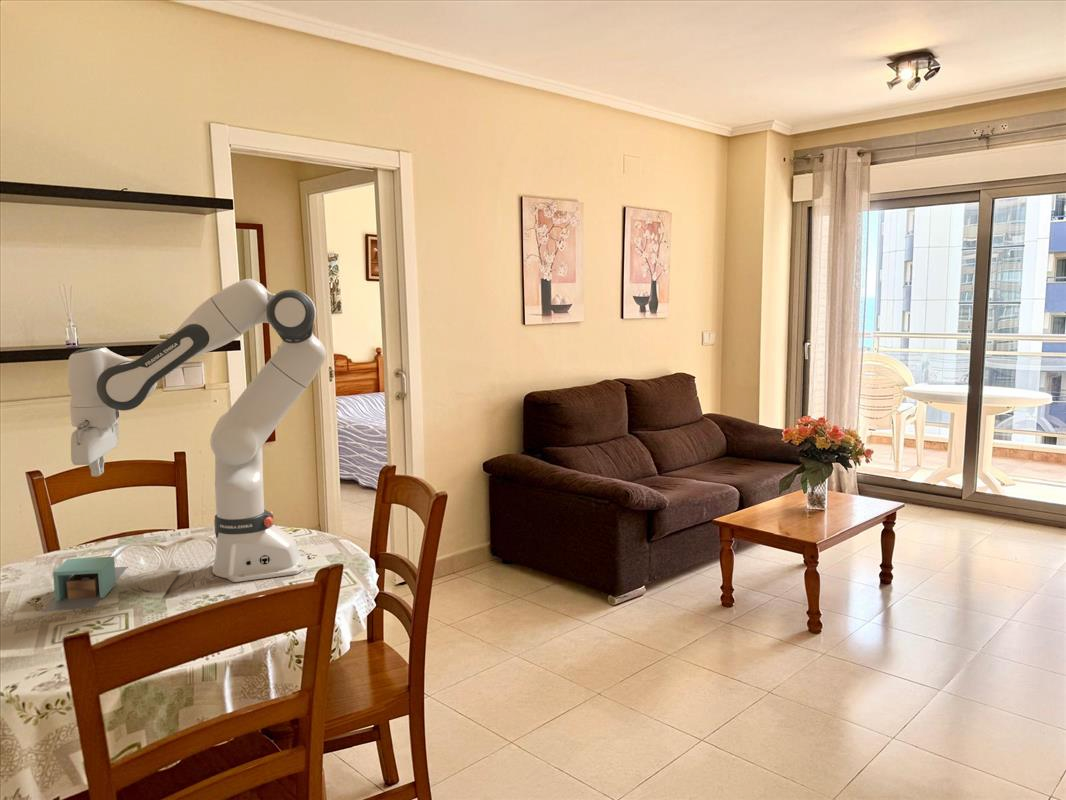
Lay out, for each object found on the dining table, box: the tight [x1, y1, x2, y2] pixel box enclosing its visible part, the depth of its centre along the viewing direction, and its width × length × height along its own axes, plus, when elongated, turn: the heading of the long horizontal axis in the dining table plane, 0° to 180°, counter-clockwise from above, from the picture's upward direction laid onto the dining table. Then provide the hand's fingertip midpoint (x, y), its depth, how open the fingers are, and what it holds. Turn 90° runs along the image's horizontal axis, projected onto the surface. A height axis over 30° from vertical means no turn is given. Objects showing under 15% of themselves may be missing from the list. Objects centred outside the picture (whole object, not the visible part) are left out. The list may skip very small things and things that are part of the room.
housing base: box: [41, 566, 129, 612], centre depth 171 cm, size 10×24×4 cm, turn 12°
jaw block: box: [67, 573, 100, 599], centre depth 167 cm, size 6×6×4 cm
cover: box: [52, 556, 117, 601], centre depth 167 cm, size 10×8×6 cm
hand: (97, 475), depth 176 cm, fingers closed
